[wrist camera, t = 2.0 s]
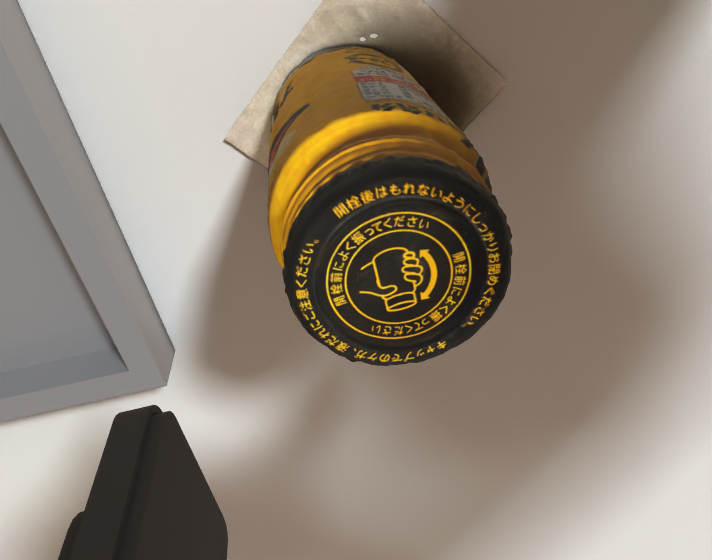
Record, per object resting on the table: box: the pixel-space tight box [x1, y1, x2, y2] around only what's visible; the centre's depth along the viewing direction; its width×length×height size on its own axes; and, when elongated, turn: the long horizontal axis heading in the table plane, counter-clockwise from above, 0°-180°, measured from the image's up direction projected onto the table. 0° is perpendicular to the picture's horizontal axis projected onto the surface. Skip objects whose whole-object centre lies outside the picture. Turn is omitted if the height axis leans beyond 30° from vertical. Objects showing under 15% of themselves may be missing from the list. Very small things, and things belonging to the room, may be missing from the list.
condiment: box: [224, 0, 512, 366], centre depth 18 cm, size 7×8×12 cm
